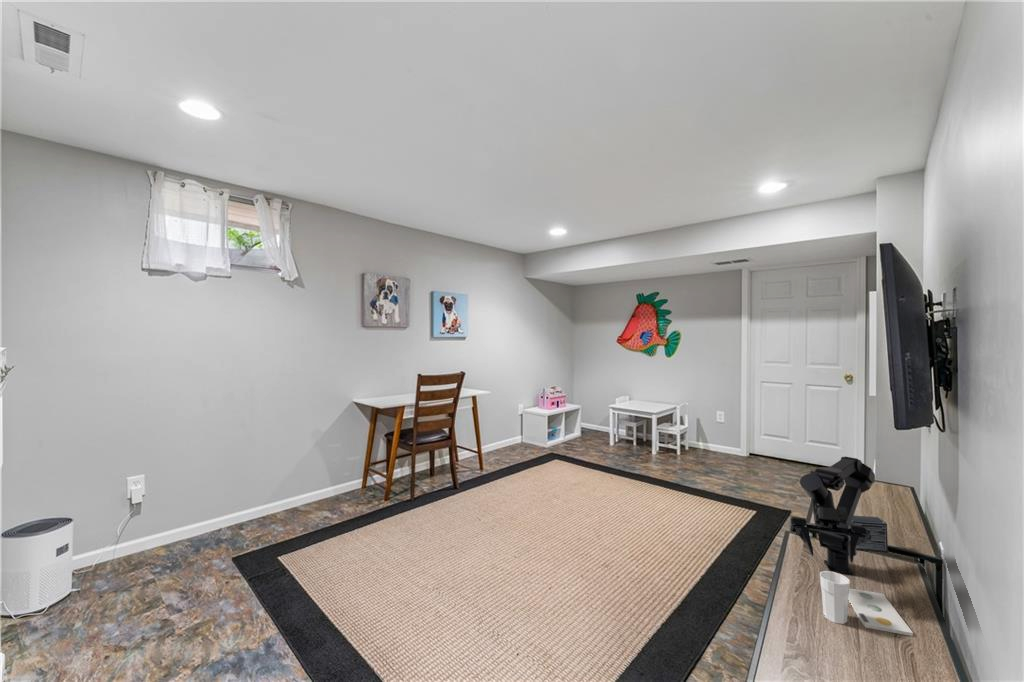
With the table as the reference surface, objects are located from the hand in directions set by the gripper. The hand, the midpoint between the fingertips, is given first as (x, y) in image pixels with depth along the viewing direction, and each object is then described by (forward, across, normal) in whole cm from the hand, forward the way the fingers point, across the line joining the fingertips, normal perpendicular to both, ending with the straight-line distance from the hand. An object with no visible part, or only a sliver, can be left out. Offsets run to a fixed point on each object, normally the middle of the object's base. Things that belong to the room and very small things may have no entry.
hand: (831, 558), depth 124 cm
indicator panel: (+9, +10, +9) cm, 16 cm away
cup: (+15, -1, +4) cm, 15 cm away
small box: (-22, +18, +40) cm, 49 cm away
